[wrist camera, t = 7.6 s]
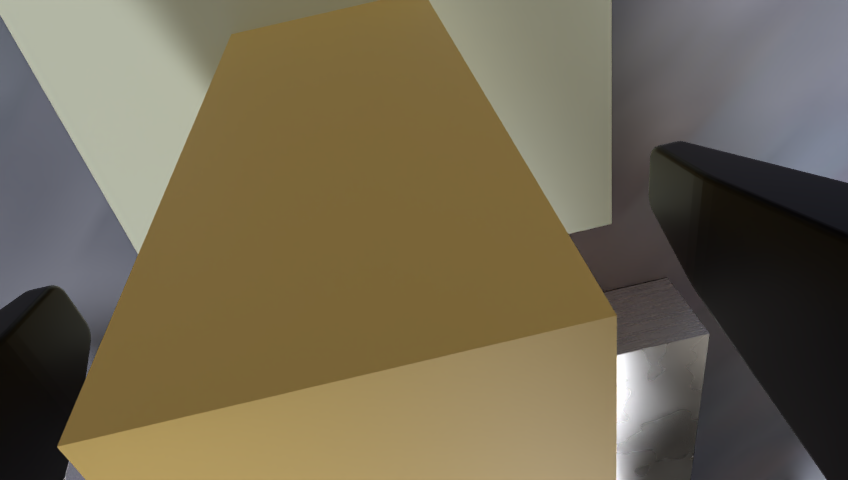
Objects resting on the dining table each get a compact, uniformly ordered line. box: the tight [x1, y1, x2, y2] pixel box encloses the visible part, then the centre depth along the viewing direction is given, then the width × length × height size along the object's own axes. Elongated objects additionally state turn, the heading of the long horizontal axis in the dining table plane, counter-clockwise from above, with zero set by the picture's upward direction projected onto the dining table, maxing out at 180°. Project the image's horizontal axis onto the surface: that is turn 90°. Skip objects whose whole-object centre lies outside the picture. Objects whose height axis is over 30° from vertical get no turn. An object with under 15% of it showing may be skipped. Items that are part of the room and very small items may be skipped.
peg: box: [57, 0, 617, 480], centre depth 9 cm, size 4×4×10 cm
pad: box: [0, 0, 612, 254], centre depth 14 cm, size 12×10×1 cm
